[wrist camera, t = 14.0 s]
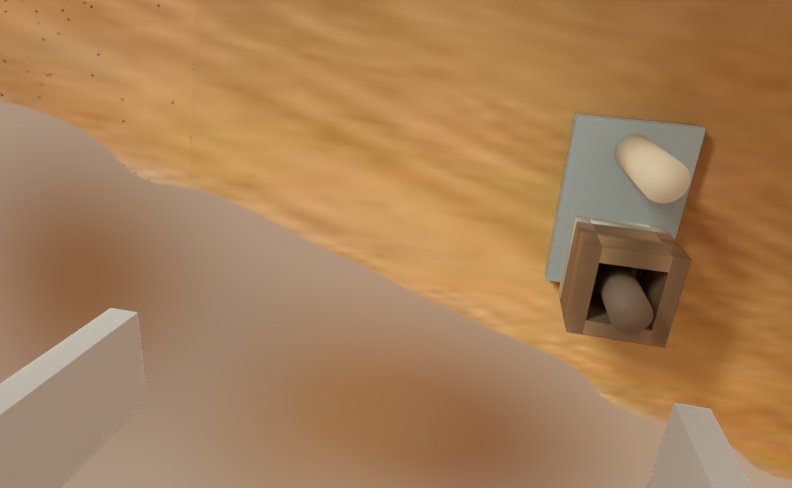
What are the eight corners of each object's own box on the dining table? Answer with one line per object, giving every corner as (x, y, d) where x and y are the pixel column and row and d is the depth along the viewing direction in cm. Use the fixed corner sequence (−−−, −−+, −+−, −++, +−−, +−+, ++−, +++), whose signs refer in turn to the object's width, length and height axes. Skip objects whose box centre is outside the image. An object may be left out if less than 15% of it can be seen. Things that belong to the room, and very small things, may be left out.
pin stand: (545, 273, 42) (554, 333, 33) (575, 113, 37) (595, 135, 29) (655, 289, 41) (694, 355, 32) (700, 125, 36) (758, 152, 28)
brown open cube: (558, 291, 41) (566, 331, 35) (574, 215, 39) (585, 245, 33) (642, 304, 40) (664, 347, 34) (664, 226, 38) (691, 259, 32)
